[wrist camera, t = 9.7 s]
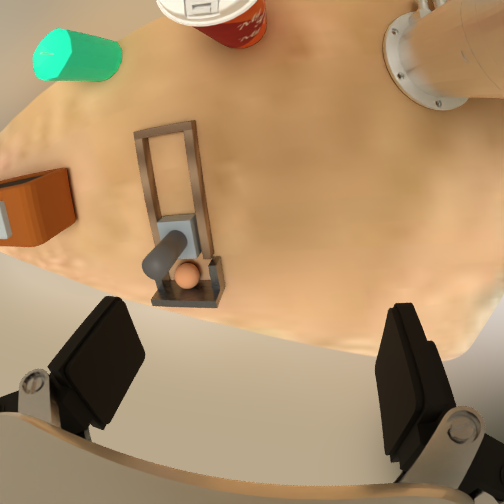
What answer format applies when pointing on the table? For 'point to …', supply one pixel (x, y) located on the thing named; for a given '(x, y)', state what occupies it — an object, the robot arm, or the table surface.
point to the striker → (173, 244)
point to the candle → (76, 57)
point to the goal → (192, 290)
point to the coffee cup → (221, 19)
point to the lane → (195, 179)
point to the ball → (187, 275)
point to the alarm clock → (35, 208)
